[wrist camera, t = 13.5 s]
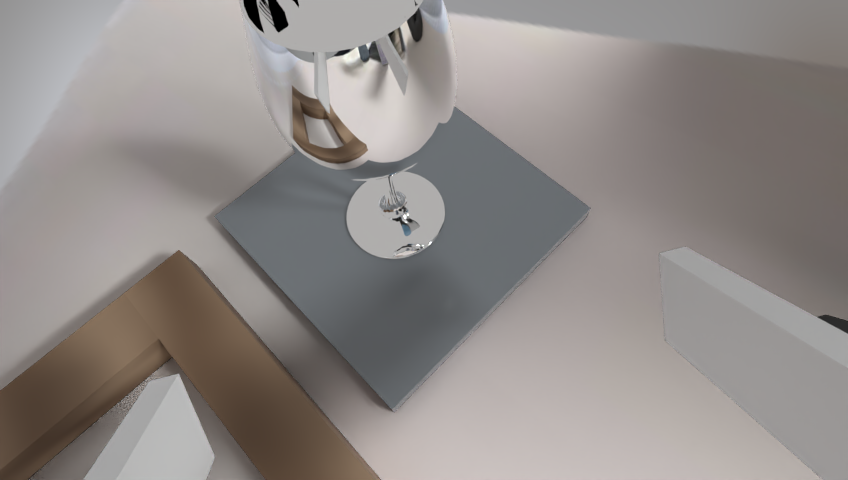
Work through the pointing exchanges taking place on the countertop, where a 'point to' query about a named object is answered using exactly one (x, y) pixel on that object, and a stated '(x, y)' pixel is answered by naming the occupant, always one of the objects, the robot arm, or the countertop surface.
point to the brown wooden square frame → (199, 359)
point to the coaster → (414, 276)
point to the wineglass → (362, 103)
